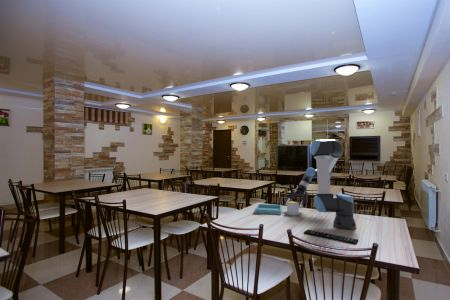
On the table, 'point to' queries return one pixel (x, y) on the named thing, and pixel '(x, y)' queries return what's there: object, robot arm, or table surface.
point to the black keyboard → (331, 236)
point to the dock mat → (293, 215)
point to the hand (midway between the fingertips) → (293, 206)
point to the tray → (268, 209)
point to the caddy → (292, 208)
